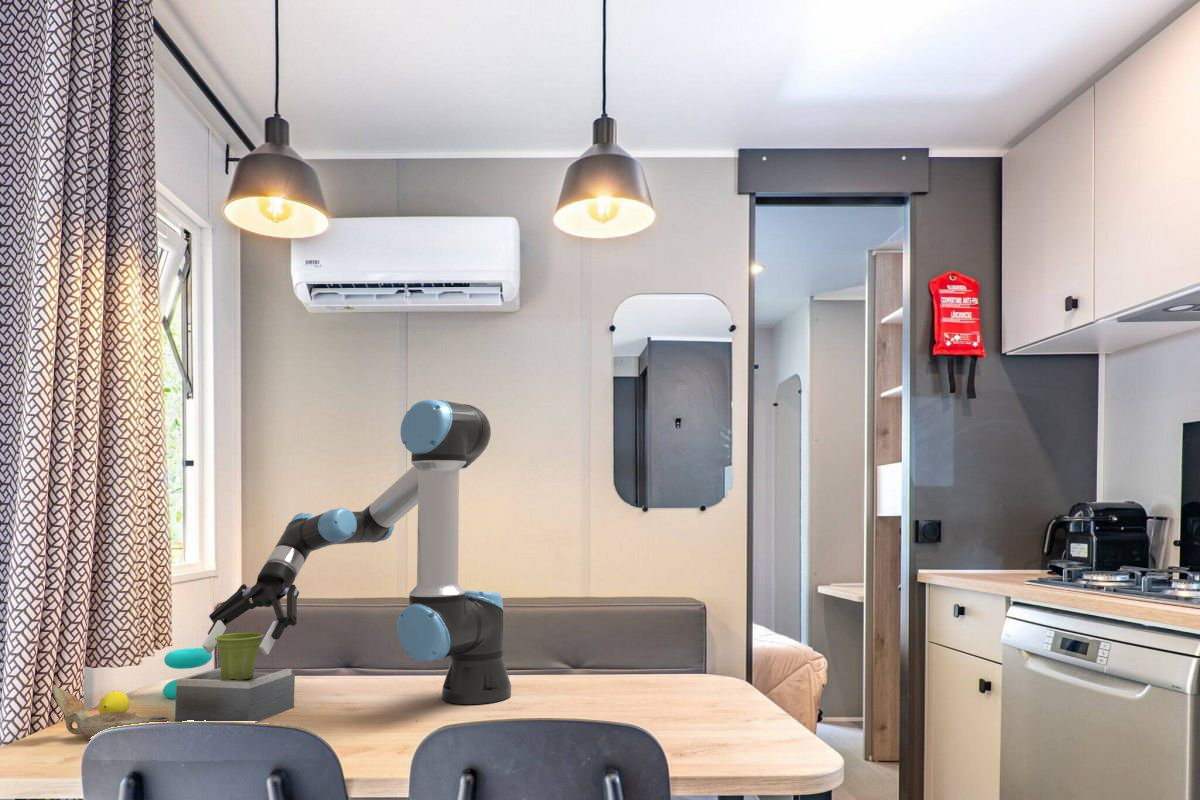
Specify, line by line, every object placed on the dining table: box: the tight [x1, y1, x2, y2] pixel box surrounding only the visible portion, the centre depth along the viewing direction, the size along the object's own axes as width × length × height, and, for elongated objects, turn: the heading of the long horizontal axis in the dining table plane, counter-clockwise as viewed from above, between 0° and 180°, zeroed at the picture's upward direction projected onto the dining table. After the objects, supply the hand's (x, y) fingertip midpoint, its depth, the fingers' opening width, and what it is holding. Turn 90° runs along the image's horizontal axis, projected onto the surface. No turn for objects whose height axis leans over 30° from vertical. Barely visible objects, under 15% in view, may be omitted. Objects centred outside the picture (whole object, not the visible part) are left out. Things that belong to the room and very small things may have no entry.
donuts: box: [162, 647, 213, 700], centre depth 192 cm, size 10×10×10 cm
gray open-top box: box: [174, 667, 296, 722], centre depth 173 cm, size 20×15×8 cm
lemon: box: [97, 690, 130, 714], centre depth 171 cm, size 7×5×5 cm
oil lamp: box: [52, 684, 171, 740], centre depth 157 cm, size 9×21×10 cm, turn 95°
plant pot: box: [215, 632, 265, 680], centre depth 173 cm, size 9×9×9 cm
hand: (234, 650), depth 172 cm, fingers open, 13 cm apart
